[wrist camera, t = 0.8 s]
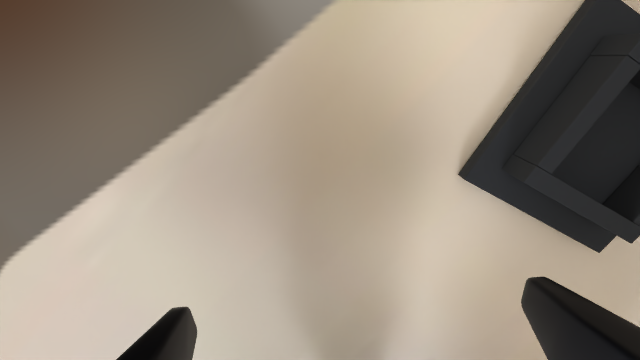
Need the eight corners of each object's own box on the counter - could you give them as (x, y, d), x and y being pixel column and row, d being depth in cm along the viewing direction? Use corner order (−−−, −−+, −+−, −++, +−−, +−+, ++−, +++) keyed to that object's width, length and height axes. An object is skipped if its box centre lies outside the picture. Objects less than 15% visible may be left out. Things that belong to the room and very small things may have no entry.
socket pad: (589, 246, 25) (629, 274, 22) (457, 174, 23) (481, 193, 20) (732, 97, 21) (808, 105, 18) (591, -9, 19) (649, -23, 16)
